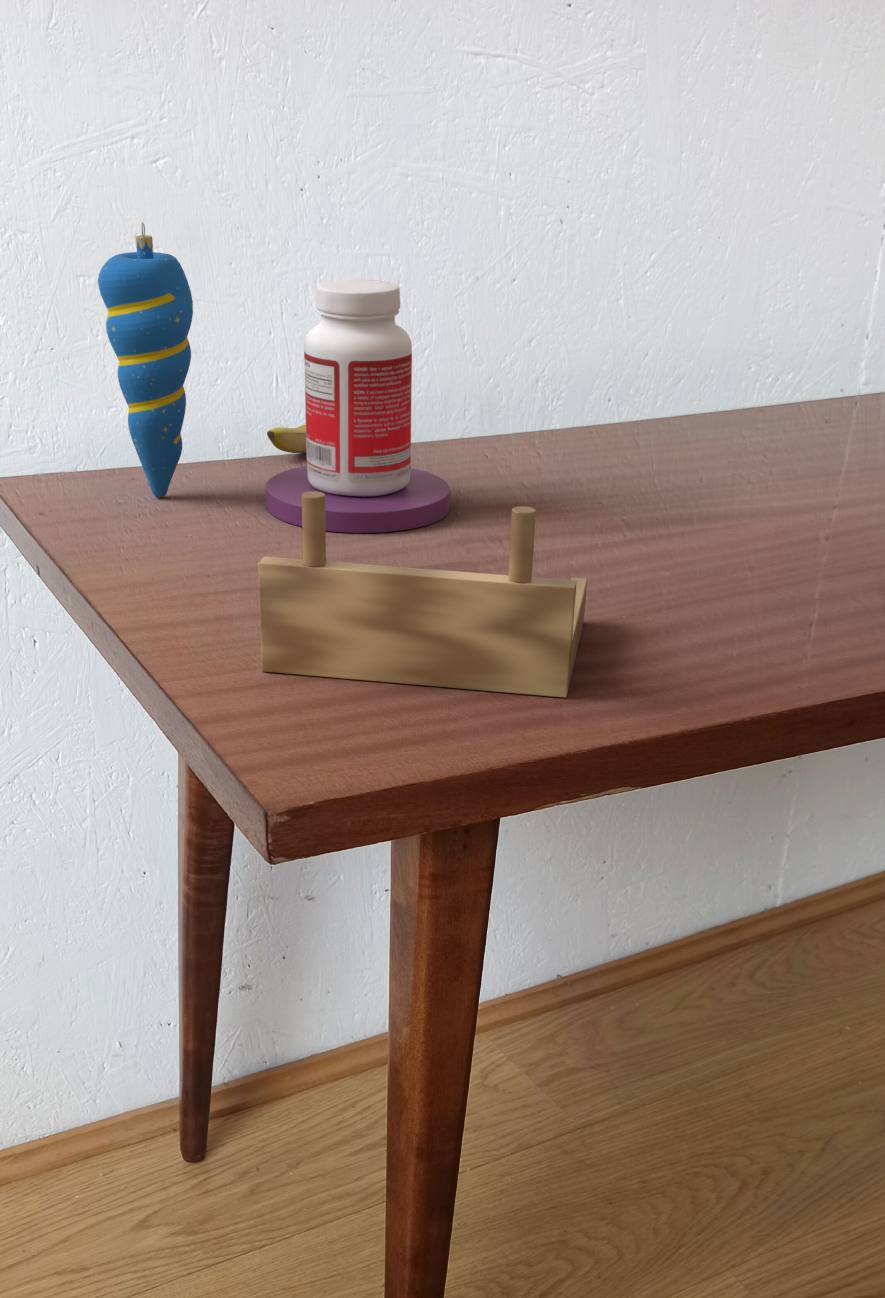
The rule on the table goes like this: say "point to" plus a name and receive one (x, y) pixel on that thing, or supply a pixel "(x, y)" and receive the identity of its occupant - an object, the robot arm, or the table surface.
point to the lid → (362, 503)
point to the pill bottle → (358, 390)
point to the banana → (289, 439)
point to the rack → (420, 618)
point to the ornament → (150, 351)
